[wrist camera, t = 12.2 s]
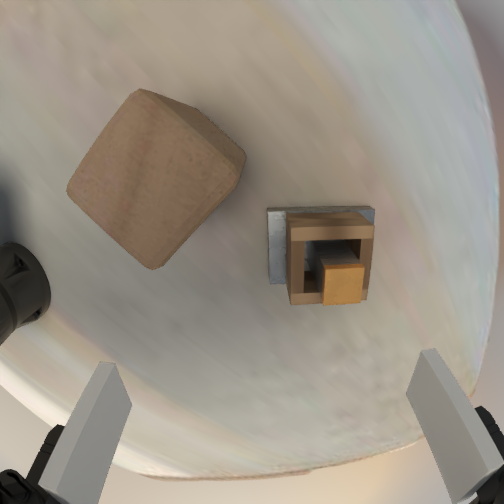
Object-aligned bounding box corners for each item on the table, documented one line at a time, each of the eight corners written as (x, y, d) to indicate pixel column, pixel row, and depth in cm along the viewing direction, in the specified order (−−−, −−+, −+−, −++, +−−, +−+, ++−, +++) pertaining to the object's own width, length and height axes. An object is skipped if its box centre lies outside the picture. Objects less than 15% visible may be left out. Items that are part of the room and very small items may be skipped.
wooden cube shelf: (286, 282, 42) (290, 305, 37) (285, 213, 39) (290, 227, 33) (353, 278, 42) (366, 300, 36) (358, 211, 38) (374, 225, 33)
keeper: (269, 277, 44) (274, 332, 32) (267, 208, 40) (272, 241, 28) (364, 272, 44) (397, 322, 32) (369, 206, 40) (412, 237, 28)
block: (250, 156, 38) (245, 178, 19) (197, 211, 41) (152, 280, 22) (192, 104, 36) (134, 81, 17) (142, 162, 38) (57, 192, 20)
